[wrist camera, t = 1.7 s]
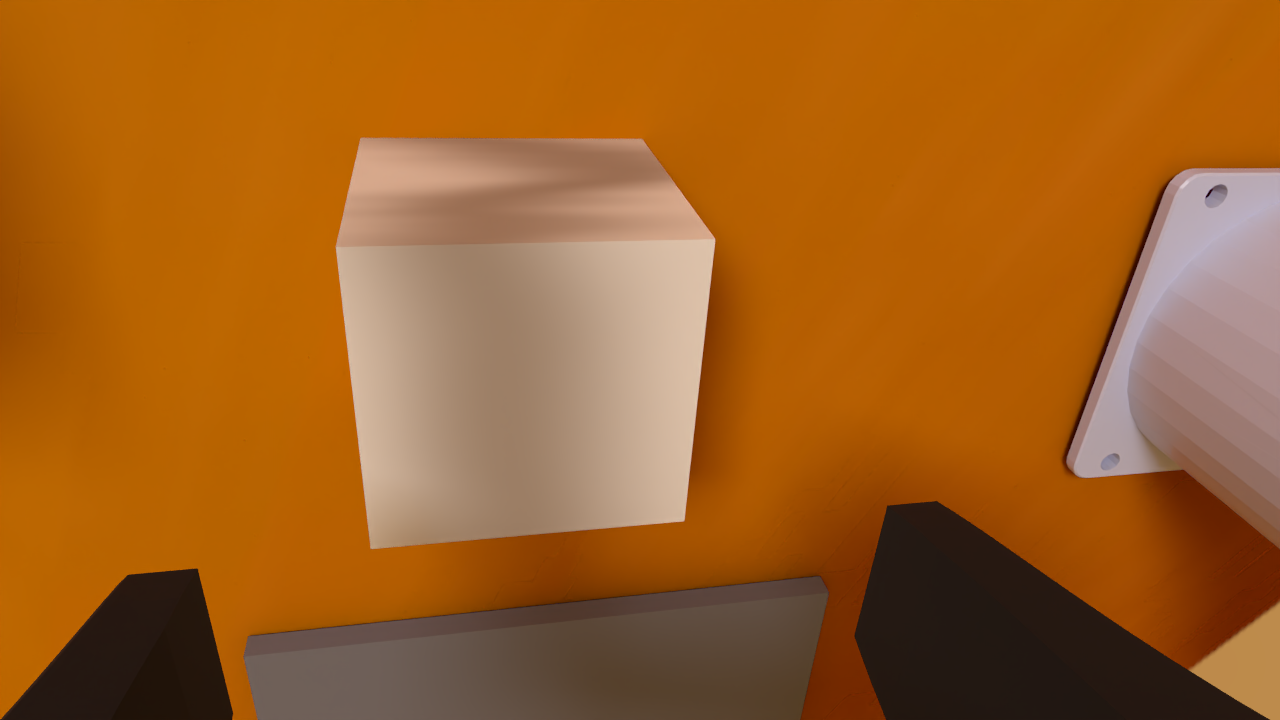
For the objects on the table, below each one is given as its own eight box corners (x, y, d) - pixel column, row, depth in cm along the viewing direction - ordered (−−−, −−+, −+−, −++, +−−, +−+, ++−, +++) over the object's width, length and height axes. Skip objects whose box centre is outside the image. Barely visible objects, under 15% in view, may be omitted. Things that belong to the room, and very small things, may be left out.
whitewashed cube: (641, 137, 16) (715, 239, 12) (626, 369, 19) (683, 520, 15) (361, 136, 15) (336, 246, 11) (384, 382, 18) (371, 549, 14)
